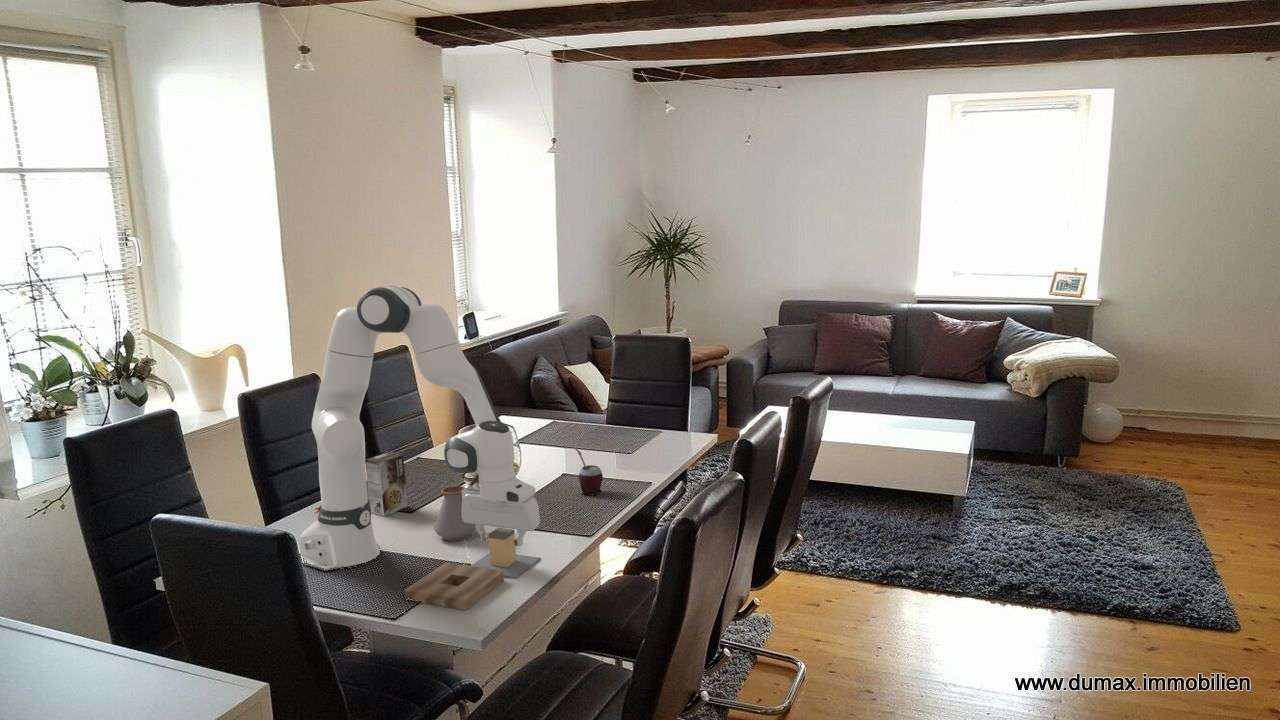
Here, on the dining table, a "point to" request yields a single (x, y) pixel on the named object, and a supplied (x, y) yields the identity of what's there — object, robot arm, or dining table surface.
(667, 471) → the dining table surface
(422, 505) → the dining table surface
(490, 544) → the plug
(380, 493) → the coffee box
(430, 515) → the dining table surface
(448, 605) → the wooden socket board
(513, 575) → the slate mat
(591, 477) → the mate gourd
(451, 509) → the coffee pot
